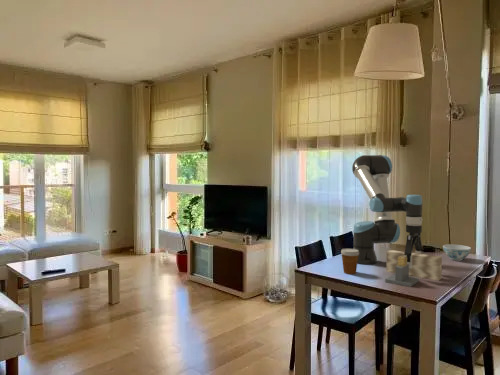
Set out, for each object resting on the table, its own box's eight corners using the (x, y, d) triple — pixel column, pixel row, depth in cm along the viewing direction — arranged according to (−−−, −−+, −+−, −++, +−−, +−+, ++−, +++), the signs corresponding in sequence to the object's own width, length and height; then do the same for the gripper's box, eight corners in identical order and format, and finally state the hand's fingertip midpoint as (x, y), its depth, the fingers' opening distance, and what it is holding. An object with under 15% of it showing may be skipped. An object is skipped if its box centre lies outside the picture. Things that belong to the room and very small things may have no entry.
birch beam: (386, 271, 208) (386, 251, 208) (389, 269, 212) (390, 250, 211) (438, 280, 192) (439, 258, 191) (441, 278, 195) (441, 256, 195)
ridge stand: (385, 282, 189) (385, 257, 188) (394, 276, 198) (394, 253, 197) (410, 287, 181) (411, 261, 181) (418, 281, 190) (419, 256, 190)
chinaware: (457, 256, 244) (457, 243, 243) (476, 261, 229) (477, 248, 229) (436, 257, 240) (437, 245, 240) (455, 263, 225) (455, 250, 225)
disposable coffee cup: (337, 272, 206) (337, 250, 206) (346, 269, 213) (346, 247, 212) (353, 276, 200) (353, 252, 199) (362, 272, 206) (362, 250, 206)
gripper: (413, 228, 189) (412, 271, 189) (428, 222, 207) (428, 262, 208) (397, 226, 193) (397, 269, 194) (414, 221, 212) (413, 260, 213)
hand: (413, 265), depth 201 cm, fingers open, 13 cm apart
